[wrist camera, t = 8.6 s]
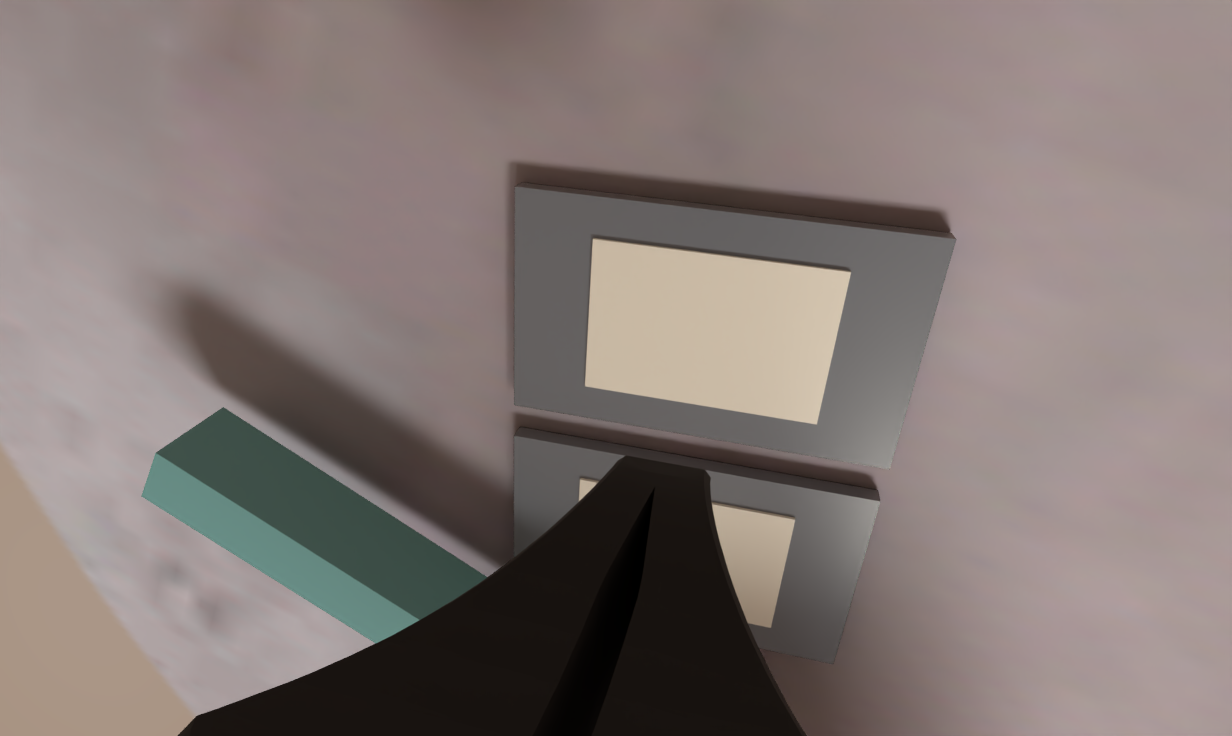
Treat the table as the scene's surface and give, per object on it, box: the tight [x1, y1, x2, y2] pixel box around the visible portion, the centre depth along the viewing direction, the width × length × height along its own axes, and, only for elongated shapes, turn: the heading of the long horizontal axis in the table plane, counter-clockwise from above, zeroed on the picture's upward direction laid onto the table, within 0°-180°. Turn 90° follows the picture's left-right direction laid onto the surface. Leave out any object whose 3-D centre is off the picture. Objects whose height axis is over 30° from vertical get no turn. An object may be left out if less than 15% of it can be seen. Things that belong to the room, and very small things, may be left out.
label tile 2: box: [514, 427, 880, 664], centre depth 21 cm, size 6×10×1 cm, turn 86°
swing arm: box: [142, 407, 487, 643], centre depth 20 cm, size 19×4×4 cm, turn 58°
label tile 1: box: [514, 183, 956, 470], centre depth 18 cm, size 6×10×1 cm, turn 86°
